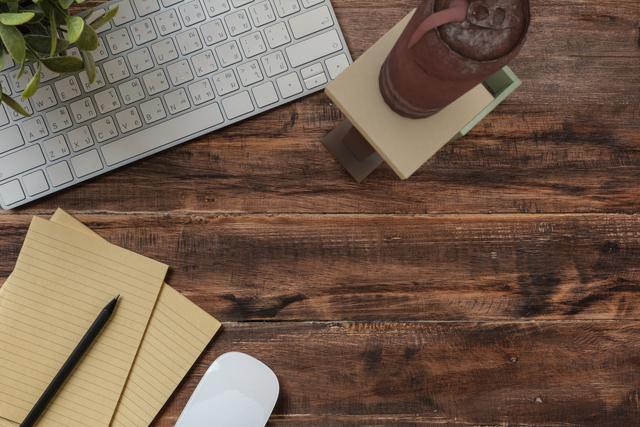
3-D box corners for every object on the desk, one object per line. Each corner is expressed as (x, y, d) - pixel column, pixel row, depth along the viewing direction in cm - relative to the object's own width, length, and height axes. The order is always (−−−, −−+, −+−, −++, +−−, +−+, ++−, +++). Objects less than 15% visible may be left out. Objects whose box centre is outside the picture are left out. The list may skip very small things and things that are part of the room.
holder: (399, 86, 68) (410, 74, 62) (453, 38, 69) (469, 21, 63) (448, 142, 69) (463, 135, 63) (502, 94, 69) (522, 82, 63)
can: (362, 63, 39) (404, -21, 25) (433, 35, 39) (513, -63, 25) (391, 132, 39) (448, 87, 25) (461, 104, 40) (555, 43, 26)
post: (320, 141, 67) (340, 92, 40) (361, 104, 68) (410, 31, 41) (357, 183, 68) (403, 163, 41) (399, 146, 68) (471, 101, 41)
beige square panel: (323, 91, 40) (325, 86, 39) (411, 14, 41) (415, 7, 39) (402, 180, 41) (406, 178, 39) (487, 103, 41) (495, 98, 40)
